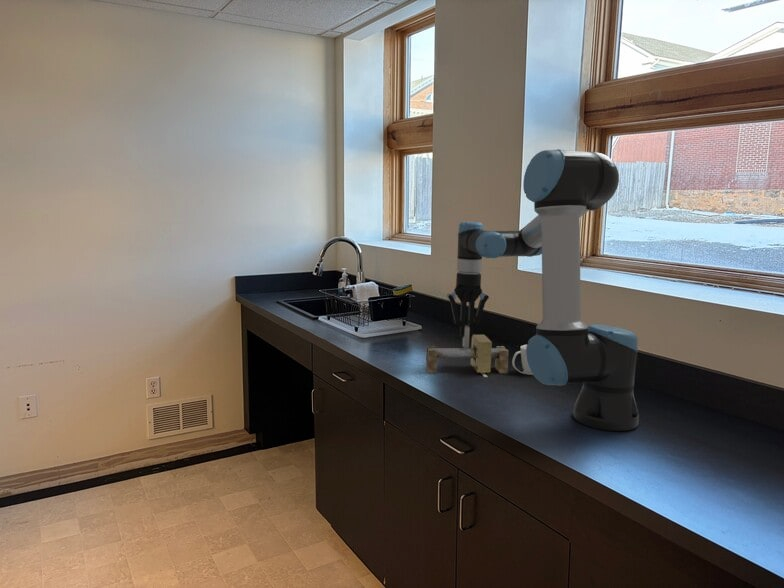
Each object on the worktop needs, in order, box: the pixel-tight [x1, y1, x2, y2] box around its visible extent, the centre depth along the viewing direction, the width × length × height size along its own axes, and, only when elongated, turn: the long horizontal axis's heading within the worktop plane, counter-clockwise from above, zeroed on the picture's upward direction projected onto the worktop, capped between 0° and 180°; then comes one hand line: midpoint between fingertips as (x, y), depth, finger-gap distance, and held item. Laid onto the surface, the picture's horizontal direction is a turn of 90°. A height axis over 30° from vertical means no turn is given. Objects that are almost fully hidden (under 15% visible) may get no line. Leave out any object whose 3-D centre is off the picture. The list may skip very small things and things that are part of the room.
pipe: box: [428, 347, 507, 359], centre depth 185 cm, size 24×3×3 cm, turn 95°
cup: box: [511, 344, 534, 376], centre depth 184 cm, size 7×10×8 cm
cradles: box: [425, 345, 509, 375], centre depth 185 cm, size 24×6×7 cm, turn 95°
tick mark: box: [480, 372, 488, 378], centre depth 186 cm, size 1×14×1 cm, turn 5°
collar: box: [470, 334, 493, 373], centre depth 185 cm, size 4×9×9 cm, turn 5°
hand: (465, 346), depth 189 cm, fingers closed
